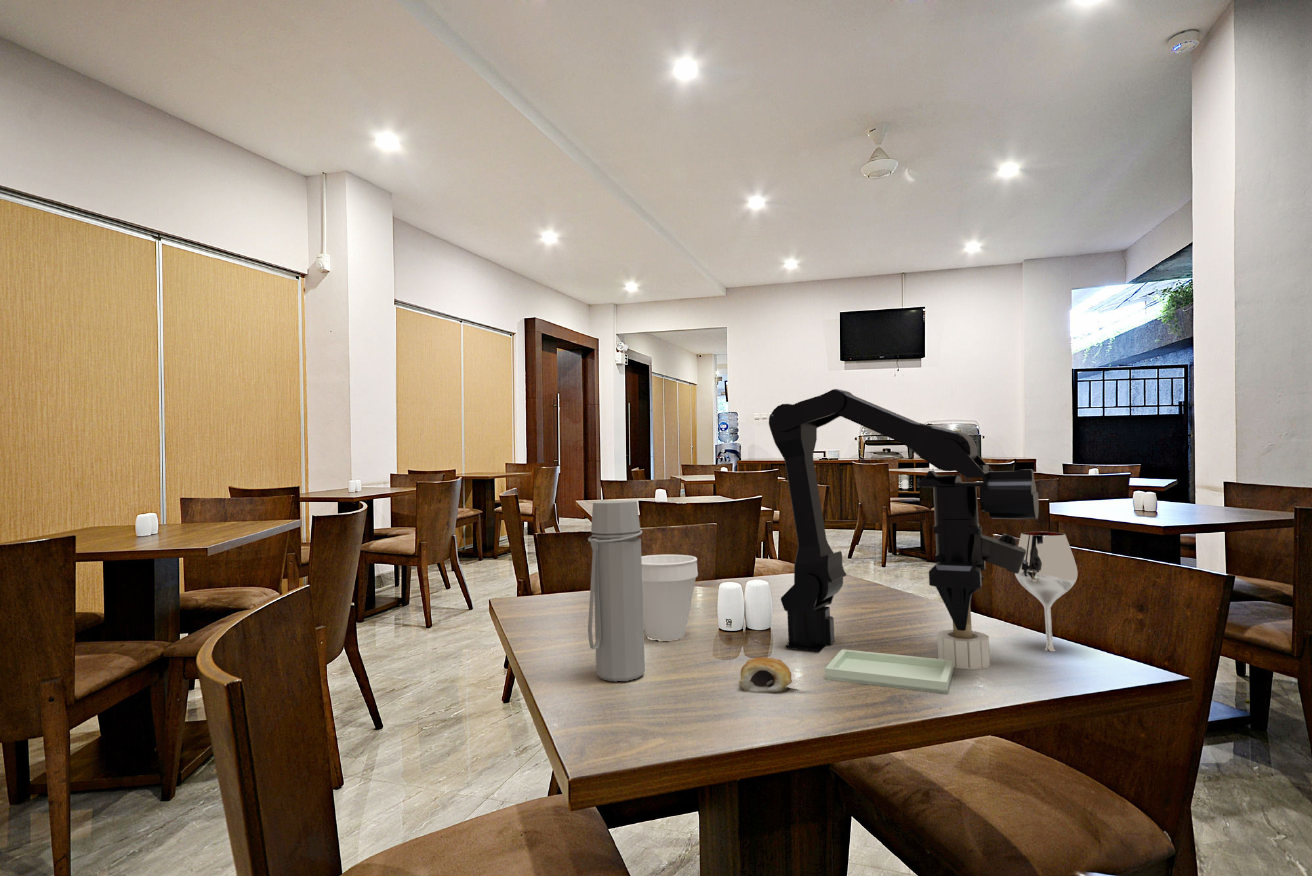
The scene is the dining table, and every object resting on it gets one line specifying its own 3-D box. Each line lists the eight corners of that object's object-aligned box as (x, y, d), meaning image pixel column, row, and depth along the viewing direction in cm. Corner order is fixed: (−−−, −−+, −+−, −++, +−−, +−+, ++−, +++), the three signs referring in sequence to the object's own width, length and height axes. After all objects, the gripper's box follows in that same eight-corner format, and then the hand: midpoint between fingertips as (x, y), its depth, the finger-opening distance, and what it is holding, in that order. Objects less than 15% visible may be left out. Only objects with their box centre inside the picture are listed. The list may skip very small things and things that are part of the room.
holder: (937, 671, 92) (935, 638, 92) (941, 658, 98) (939, 627, 98) (989, 676, 89) (987, 643, 89) (991, 663, 95) (989, 631, 95)
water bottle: (621, 664, 100) (617, 500, 101) (658, 674, 95) (652, 500, 96) (573, 679, 94) (569, 503, 95) (609, 691, 88) (604, 504, 89)
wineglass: (1093, 663, 93) (1085, 536, 94) (1030, 662, 95) (1022, 536, 96) (1069, 648, 101) (1061, 530, 102) (1011, 647, 103) (1004, 531, 104)
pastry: (747, 671, 96) (746, 645, 96) (794, 674, 94) (793, 647, 94) (738, 693, 86) (737, 664, 87) (790, 696, 85) (789, 666, 85)
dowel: (954, 662, 93) (950, 584, 94) (955, 658, 95) (951, 581, 96) (972, 664, 92) (968, 585, 93) (973, 660, 94) (969, 582, 95)
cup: (637, 628, 123) (634, 554, 124) (702, 628, 122) (700, 553, 122) (624, 645, 111) (622, 564, 112) (697, 646, 109) (694, 563, 110)
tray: (825, 684, 88) (824, 668, 88) (842, 664, 97) (841, 649, 97) (947, 700, 81) (946, 682, 81) (954, 676, 90) (953, 660, 90)
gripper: (1020, 524, 83) (1028, 650, 82) (1019, 513, 99) (1025, 618, 98) (925, 523, 88) (931, 642, 87) (939, 513, 104) (944, 612, 104)
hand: (962, 627), depth 94 cm, fingers closed on dowel, 2 cm apart
